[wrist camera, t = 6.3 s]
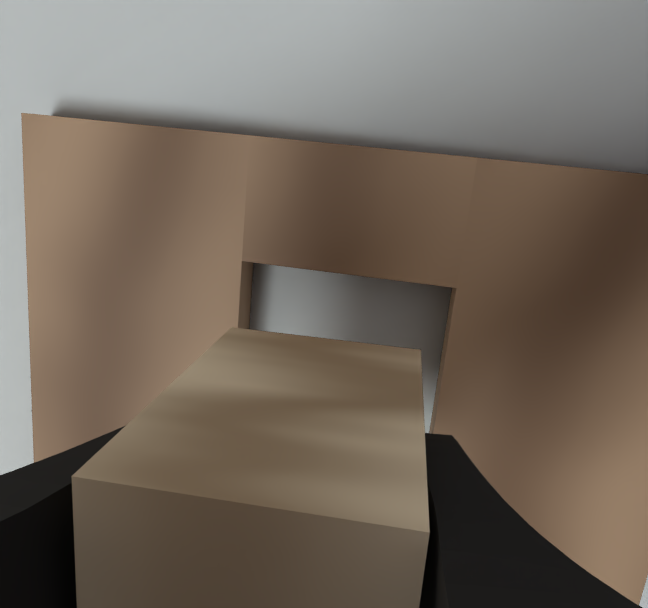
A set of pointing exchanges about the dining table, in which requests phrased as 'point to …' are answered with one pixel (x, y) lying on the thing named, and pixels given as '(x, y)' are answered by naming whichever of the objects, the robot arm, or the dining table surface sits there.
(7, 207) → the dining table surface
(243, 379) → the beech block
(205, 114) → the dining table surface
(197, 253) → the walnut pocket board
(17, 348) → the dining table surface
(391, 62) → the dining table surface
